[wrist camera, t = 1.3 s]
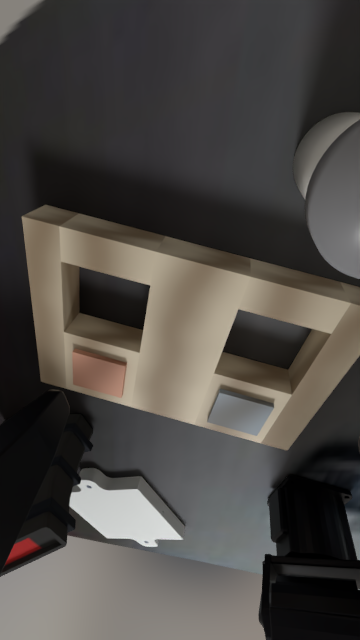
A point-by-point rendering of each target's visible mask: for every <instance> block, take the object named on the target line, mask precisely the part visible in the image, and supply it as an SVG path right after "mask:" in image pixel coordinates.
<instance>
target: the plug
mask: <svg viewBox="0 0 360 640" xmlns="http://www.w3.org/2000/svg"><path fill="white" fill-rule="evenodd" d="M293 176H294V180H295V183H296V185H297V187H298V189H299V191H300V192H301V194H302V196H303V197H304V199H305V218H306V223H307V226H308V229H309V232H310V234H311V236H312V238H313V240H314V243H315V245H316V247H317V248H318V250H319V252H320V254H321V255H322V256H323V258H324V259H325V260H326V261H327V262H328V263H329V264H330V265H331V266H333V267H334V268H335V269H337V270H338V271H340V272H342V273H344V274H346V275H348V276H351V277H354V278H358V279H360V113H357V112H342V113H337V114H333V115H331V116H328V117H326V118H324V119H323V120H321V121H320V122H318V123H317V124H315V125H314V126H313V127H312V128H311V129H310V130H309V131H308V132H307V133H306V134H305V136H304V137H303V139H302V140H301V142H300V144H299V145H298V148H297V150H296V153H295V156H294V160H293Z"/></svg>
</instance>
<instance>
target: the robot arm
mask: <svg viewBox="0 0 360 640" xmlns="http://www.w3.org/2000/svg"><path fill="white" fill-rule="evenodd" d="M69 413H70V406H69V404H68V401H67V399H66V397H65V394H64V392H63V391H61V390H49V391H47V392H45V393H44V394H43V395H41V396H40V397H39V398H37V399H36V400H34V401H33V402H32V403H30V404H29V405H27V406H26V407H25V408H23V409H22V410H20V411H19V412H18V413H16V414H15V415H14V416H12V417H11V418H9V419H8V420H7V421H5V422H4V423H2V424H1V425H0V574H1V572H2V570H3V568H4V566H5V563H6V561H7V559H8V557H9V555H10V553H11V550H12V548H13V546H14V544H15V542H16V540H17V537H18V535H19V533H20V531H21V529H22V527H23V524H24V522H25V520H26V518H27V516H28V514H29V511H30V509H31V507H32V505H33V503H34V501H35V498H36V496H37V494H38V492H39V490H40V488H41V485H42V483H43V481H44V479H45V477H46V475H47V472H48V470H49V468H50V466H51V464H52V461H53V459H54V456H55V454H56V451H57V448H58V445H59V442H60V439H61V437H62V434H63V431H64V428H65V425H66V422H67V419H68V416H69ZM358 446H359V452H360V437H359V440H358ZM351 499H352V494H351V492H350V491H347V490H343V489H340V488H336V487H333V486H329V485H325V484H322V483H318V482H315V481H311V480H308V479H304V478H301V477H297V476H293V475H290V476H288V477H287V478H286V479H285V480H284V481H283V483H282V484H281V485H280V486H279V487H278V488H277V490H276V491H275V492H274V493H273V494H272V495H271V497H270V498H269V499H268V501H267V504H268V506H269V510H270V528H271V539H272V541H273V542H275V543H276V548H277V556H272V555H271V554H265V561H263V580H262V594H261V601H260V608H259V622H260V623H261V625H262V626H263V628H264V631H265V636H266V640H360V590H358V589H360V560H357V556H356V552H355V548H354V543H353V539H352V535H351V531H350V527H349V523H348V518H347V514H346V510H345V506H344V505H345V504H346V503H347V502H348V501H350V500H351Z"/></svg>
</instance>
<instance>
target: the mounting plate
mask: <svg viewBox="0 0 360 640" xmlns="http://www.w3.org/2000/svg"><path fill="white" fill-rule="evenodd" d="M79 476H80V477H81V482H80V484H79V485H76V486H73V488H72V493H71V497H70V504H69V506H70V507H71V508H73V509H74V510H75V511H76V512H77V513H78V514H79V515H81V516H82V517H83V518H84V519H85V520H86V521H88V522H89V523H90V524H91V525H92V526H93V527H94V528H96V529H97V530H98V531H99V532H100V533H101V534H103V535H104V536H105V537H106V538H122V539H133V540H136V541H137V542H138V543H139V544H141V545H143V546H147V547H157V546H158V541H159V539H171V540H184V533H185V526H184V525H183V524H182V523H181V521H180V520H179V519H178V518H177V517H176V516H175V515H174V513H173V512H172V511H171V510H170V509H169V508H168V506H167V505H166V504H165V503H164V502H163V501H162V500H161V498H160V497H159V496H158V495H157V494H156V493H155V491H154V490H153V489H152V488H151V487H150V486H149V485H148V483H147V482H146V481H145V480H144V479H143V478H142V476H135V477H122V478H110V477H107V476H105V475H104V474H103V473H102V472H101V471H100V470H98V469H96V468H84V469H82V470H81V472H80V474H79Z"/></svg>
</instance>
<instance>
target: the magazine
mask: <svg viewBox="0 0 360 640" xmlns="http://www.w3.org/2000/svg"><path fill="white" fill-rule="evenodd" d="M5 421H7V420H5ZM5 421H4V422H5ZM4 422H3V423H4ZM92 434H93V429H92V428H91V427H90V425H89V424H88V422H87V421H86V420H85V418H84V417H83V416H82V415H81V414H69V416H68V419H67V422H66V425H65V428H64V431H63V434H62V437H61V439H60V442H59V445H58V448H57V451H56V454H55V456H54V459H53V461H52V464H51V466H50V468H49V470H48V472H47V475H46V477H45V479H44V481H43V483H42V485H41V488H40V490H39V492H38V494H37V496H36V498H35V501H34V503H33V505H32V507H31V509H30V511H29V514H28V516H27V518H26V520H25V522H24V524H23V527H22V529H21V531H20V533H19V535H18V537H17V540H16V542H15V544H14V546H13V548H12V550H11V553H10V555H9V557H8V559H7V561H6V563H5V566H4V568H3V570H2V572H1V574H0V577H1V576H3V575H5V574H7V573H9V572H11V571H14V570H16V569H18V568H20V567H22V566H24V565H26V564H28V563H31V562H33V561H35V560H37V559H39V558H41V557H43V556H45V555H48V554H50V553H52V552H54V551H56V550H58V549H60V548H63V547H64V546H66V543H67V533H68V532H70V531H72V530H74V529H75V519H74V518H73V517H72V516H71V515H70V514H69V504H70V497H71V493H72V488H73V486H76V485H79V484H80V482H81V477H80V476H79V475H78V474H77V470H78V467H79V464H80V461H81V459H82V456H83V453H84V452H88V451H91V449H92V447H93V445H92V443H91V442H90V441H89V440H90V438H91V436H92Z"/></svg>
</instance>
